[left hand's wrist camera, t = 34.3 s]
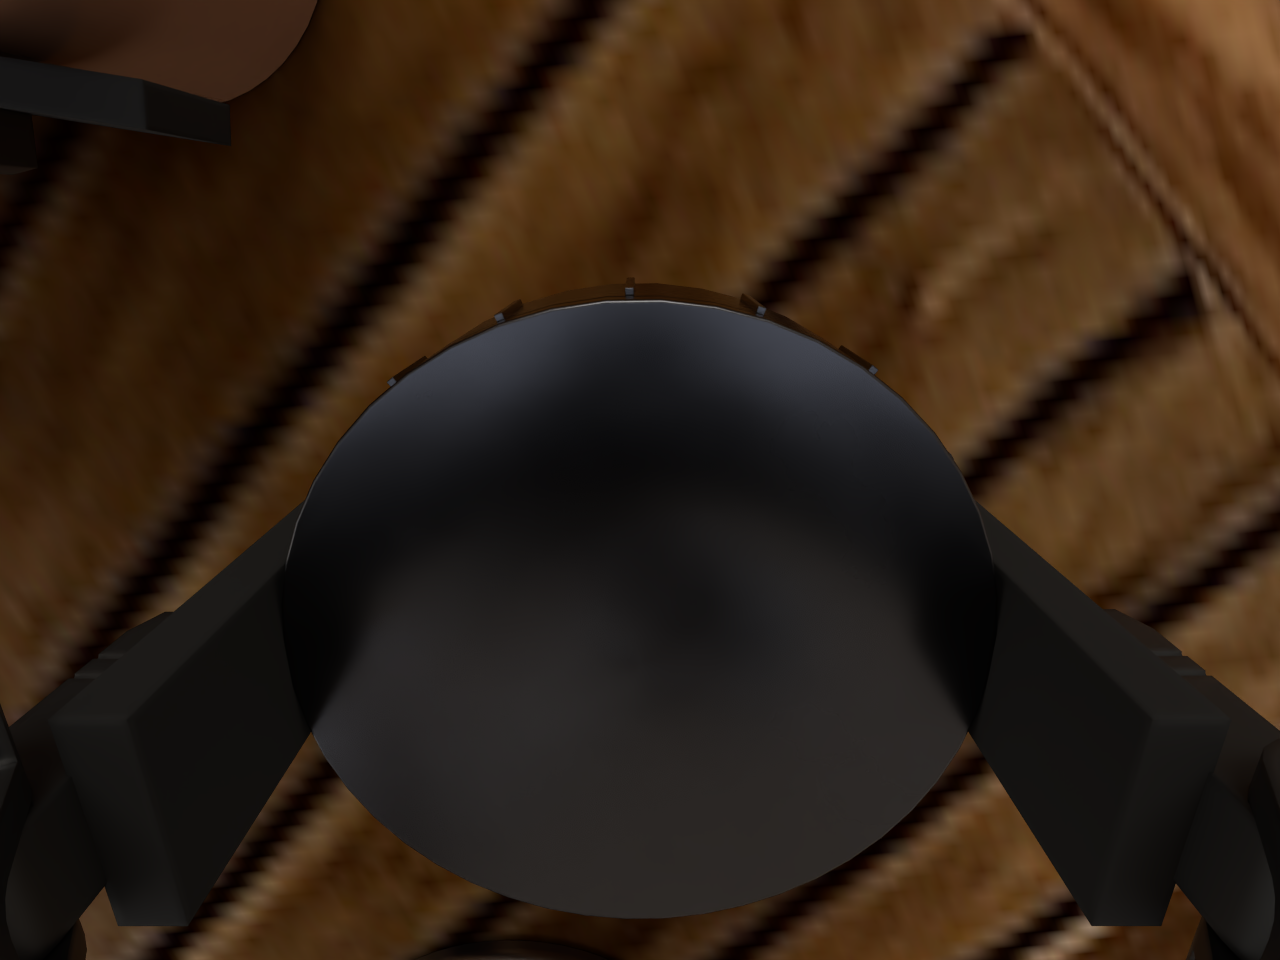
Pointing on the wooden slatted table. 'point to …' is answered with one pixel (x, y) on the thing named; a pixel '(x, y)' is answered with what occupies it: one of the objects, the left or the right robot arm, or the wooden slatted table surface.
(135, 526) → the wooden slatted table surface
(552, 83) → the wooden slatted table surface
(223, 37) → the jar
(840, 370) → the lid
